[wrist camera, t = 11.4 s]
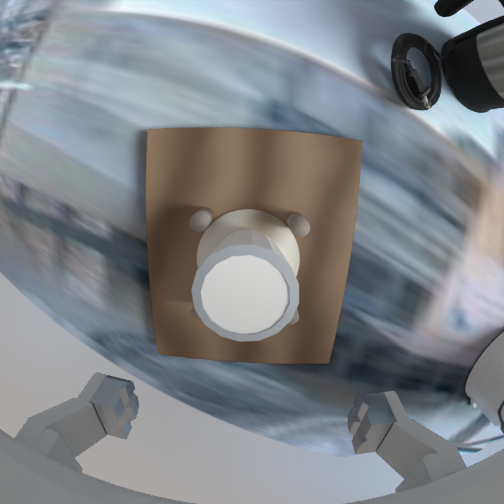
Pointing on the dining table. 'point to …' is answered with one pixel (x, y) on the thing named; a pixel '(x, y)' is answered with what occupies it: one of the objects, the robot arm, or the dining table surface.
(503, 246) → the dining table surface
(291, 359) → the pin board
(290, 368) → the dining table surface
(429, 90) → the milk frother
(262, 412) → the dining table surface
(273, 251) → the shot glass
